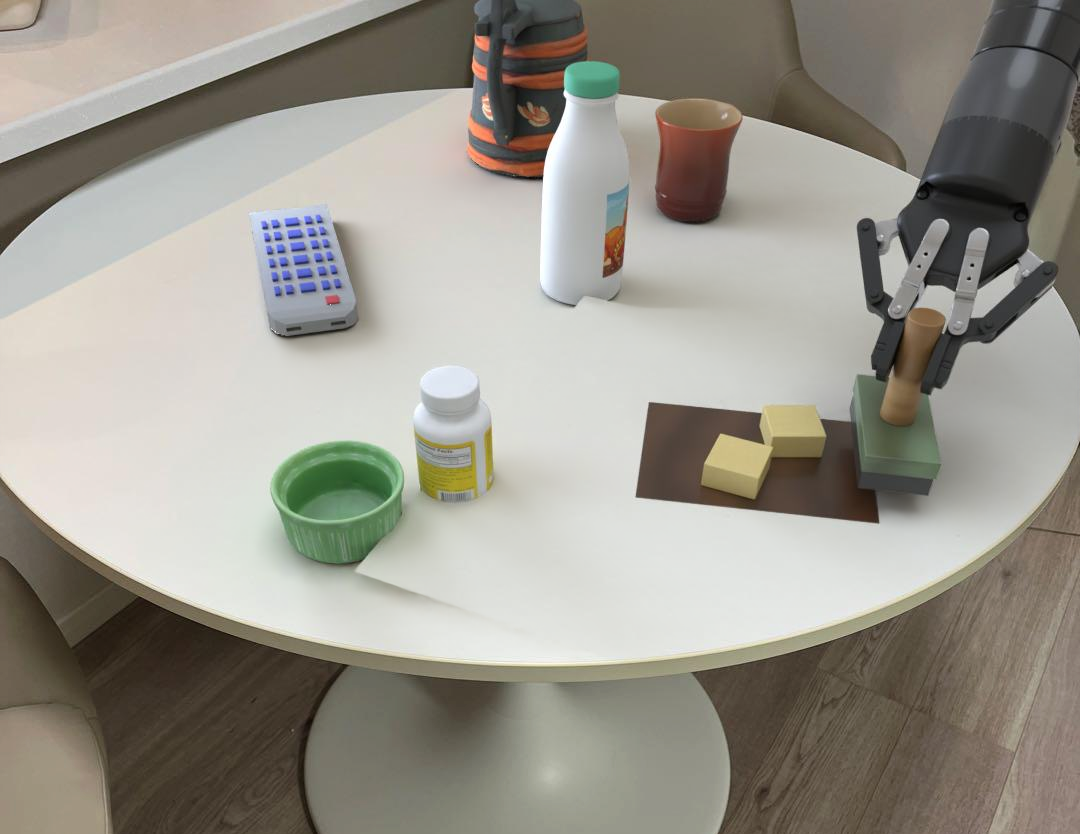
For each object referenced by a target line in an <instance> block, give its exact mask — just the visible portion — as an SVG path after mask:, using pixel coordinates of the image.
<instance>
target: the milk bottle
mask: <svg viewBox="0 0 1080 834" xmlns="http://www.w3.org/2000/svg"><path fill="white" fill-rule="evenodd" d="M620 82H621V72H620V70H619V69H618V68H617V66H614V65H612V64H610V63H607V62H602V61H593V60H589V61H584V62H577V63H574V64H571V65H569V66H568V67H567V68H566V70H565V75H564V87H565V91H564V96H565V98H566V107H565V111H564V114H563V117H562V120H561V123H560V125H559V127H558V129H557V131H556V133H555V135H554V137H553V139H552V142H551V144H550V146H549V149H548V152H547V156H546V160H545V167H544V177H542V179H543V180H542V198H541V199H542V201H541V223H540V225H541V227H540V228H541V229H540V260H539V261H540V262H539V263H540V266H539V268H540V269H539V282H540V285H541V288H542V290H543V292H544V293H545V294H546V295H547V296H549V297H550V298H551V299H553V300H555V301H558V302H560V303H563V304H568V305H574V306H577V305H578V304H579V303H580V302H581V301H582V299H583V298H584V297H585V296H586V297H589V298H594V299H598V300H602V301H609V300H611V299H613V298H615V296H616V295H617V294H618V292H619V291H620V289H621V286H622V280H623V279H622V278H623V270H624V269H623V268H624V260H625V259H624V258H625V246H626V233H627V221H628V208H629V195H630V175H631V173H630V160H629V159H630V158H629V153H628V149H627V146H626V142H625V140H624V137H623V133H622V132H621V129H620V125H619V122H618V117H617V112H616V111H617V110H616V101H617V100H618V99H619V97H620V96H619V90H620Z"/></svg>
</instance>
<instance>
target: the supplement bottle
mask: <svg viewBox="0 0 1080 834" xmlns="http://www.w3.org/2000/svg"><path fill="white" fill-rule="evenodd" d="M419 387H420V400H421V401H420V403H419V404H418V405H417V406H416V407H415V409H414V412H413V418H412V420H413V423H412V424H413V435H414V444H415V452H416V453H415V454H416V463H417V472H418V473H417V474H418V481H419V483H418V484H419V490H420V492H424V493H425V494H426V495H427V496H429V497H431V498H432V499H435V500H438V501H441V502H447V503H463V502H468V501H472V500H475V499H477V498H479V497H481V496H483V495H485V493H487V492H489V490H490V489H491V488H492V486H493V484H494V480H495V479H494V478H495V476H494V454H493V427H492V424H493V423H492V413H491V410H490V407H489V406H488V404H487V403H486V401H485V400H483V399H482V398H481V387H480V379H479V376H478V375H477V373H476V372H474V371H473V370H472V369H470V368H468V367H464V366H461V365H442V366H437V367H435V368H432V369H430V370H429V371H427V372H426V373H425V374H423V376H422V377H421V379H420V382H419Z"/></svg>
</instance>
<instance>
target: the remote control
mask: <svg viewBox="0 0 1080 834" xmlns="http://www.w3.org/2000/svg"><path fill="white" fill-rule="evenodd" d="M248 214H249V219H250V224H251V230H252V231H251V232H252V236H253V242H254V248H255V253H256V259H257V265H258V270H259V275H260V282H261V287H262V293H263V297H264V302H265V307H266V312H267V320H268V324H269V328H270V327H271V328H272V329H273V330H274V331H276V333H279V334H281V335H280V336H284V335H285V337H290V336H295V335H304V334H311V333H319V332H327V331H334V330H335V331H336V330H342V329H347V328H349V327H352V326H354V325H356V323H357V321H358V320H359V310H358V304H357V299H356V295H355V292H354V289H353V285H352V283H351V280H350V276H349V273H348V270H347V266H346V263H345V259H344V256H343V253H342V249H341V247H340V243H339V240H338V237H337V234H336V230H335V227H334V223H333V220H332V217H331V213H330V209H329V207H328V204H317V205H308V206H299V207H298V206H297V207H291V208H281V209H280V208H279V209H271V210H263V211H254V212H252V211H251V212H249V213H248ZM330 304H331V305H330ZM276 333H275V334H276ZM282 334H283V335H282Z"/></svg>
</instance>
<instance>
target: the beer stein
mask: <svg viewBox="0 0 1080 834" xmlns="http://www.w3.org/2000/svg"><path fill="white" fill-rule="evenodd" d="M473 11H474V14H475V15H476V16H477V17H478V21H476V22H475V23H474V45H473V55H472V64H471V69H472V72H473V84H472V85H473V86H472V100H471V109H470V111H469V113H468V119H467V126H468V128H467V134H468V139H467V144H468V145H467V151H466V152H467V154H468V156H469V158H470V159H471V158H472V160H473V161H475V162H476V163H477V164H479V165H480V166H481V167H483V168H482V169H484V168H485V169H484V170H486V169H488V170H487V171H489V170H490V171H489V172H491V171H493V172H492V173H495V172H498V173H497V174H500V173H502V174H501V175H504V174H506V175H505V176H509V175H511V176H510V177H512V176H513V175H515V176H513V177H517V176H516V175H519V176H518V177H521V176H522V177H524V176H525V177H524V178H529V177H535V178H536V177H537V178H544V167H545V160H546V156H547V152H548V149H549V146H550V144H551V142H552V139H553V137H554V135H555V133H556V131H557V129H558V127H559V125H560V123H561V120H562V117H563V114H564V111H565V107H566V98H565V96H564V91H565V87H564V75H565V70H566V68H567V67H568V66H569V65H571V64H574V63H577V62H584V61H590V58H589V52H588V29H587V26H586V25H585V24H584V17H583V11H582V7H581V5H580V3H578V2H577V1H576V0H478V1H477V2H475V4H474V7H473ZM472 160H471V161H472ZM473 161H472V162H473ZM477 164H476V165H477ZM480 166H479V167H480ZM481 167H480V168H481Z"/></svg>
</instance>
